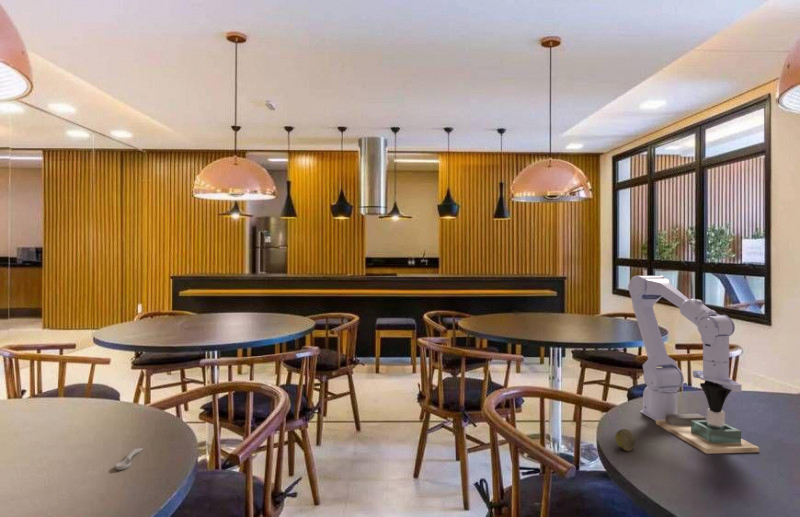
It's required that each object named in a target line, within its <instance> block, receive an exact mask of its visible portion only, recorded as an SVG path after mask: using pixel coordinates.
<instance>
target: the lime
mask: <svg viewBox="0 0 800 517" xmlns="http://www.w3.org/2000/svg"><path fill="white" fill-rule="evenodd" d="M614 440H615V443H616V444H617V446H618V447H619V448H621V449H622V450H623V451H626V452H630V451H632V450H633V449H634V447H635V438H634V435H633V433H632V431H630V430H628V429H626V428H625V429H624V428H622V429H619V430H618V431H617V432H616V433H615V437H614Z"/></svg>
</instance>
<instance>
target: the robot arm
mask: <svg viewBox="0 0 800 517" xmlns="http://www.w3.org/2000/svg"><path fill="white" fill-rule="evenodd" d="M627 288H628V291H629V295H630V300H631V304H632V308H633V312H634V316H635V318H636V321H637V326H638V329H639V331H640V335H641V340H642V343H643V345H644V349H645V352H646V356H647V360H646V361H645V362H644V363H643V364H642V369H643V370H642V371H643V380H644V383H645V385H646V387H645V388H644V390H643V394H642V410H640V413H641V414H643V415H644V416H646V417H648V418H650V419H652V420H653V421H655V422H656V420H664V419H666V415H671V414H678V391H680V387H682V386H683V385H684V380H685V378H684V373H683V372H682V370H681V369H680V368H679V366H678V363H677V361H676V360H674V359H673V358H671V357H670V356H669V355H668V352H667V349H666V346H665V343H664V340H663V336H662V333H661V330H660V326H659V324H658V320H657V318H656V314H655V312H654V308H653V307H654V305H655V304H656V303H657V302H658V301H659V300H660V299H662V298H664V299H665V300H667V301H669V302H670V303H672V304H673V305H674V306H676V307H677V308H679V313H680V314H681V316H683V317H684V318H686V319H687V320H688V321H690V322H691V323H692V324H694V325H695V326H696V327H697V331H698V333H699V334H700V340H701V342H702V370H697V369H695V370H694V369H693V370H692V378H695V379H700V380H702V381H704V382H700V384H699V385H700V387H701V389H702V391H703V392H704V395H705V398H706V400H707V404H708V408H710V410H711V411H713V412H721V410H722V409H723V407H724V403H725V400H726V399H727V398H728V396H729V395H730V393H731V392H733V393H742V384H740V383H738V382H737V381H735V380H734V379H732V378H730V337H731V336H732V335H733V334H734V332H735V329H736V326H735V323H734V321H733V320H732V319H731V318H730V316H728V315H726V314H719V313H717V311H715V310H714V309H711V308H709V307H708V306H706V305H705V304H704V303H703V301H702V300H701V299H696V298H690V299H689V297H687V296H685V295H684V294H683V293H682V292H681V291H679V289H677V288H676V287H675V286H674V285H673V284H671V281H670V279H668V278H665V276H664V275H660V274H659V275H658V274H657V275H634V276H632V278H631V279H630V280H629V283H628V287H627ZM722 411H723V410H722Z"/></svg>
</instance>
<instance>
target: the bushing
mask: <svg viewBox="0 0 800 517" xmlns="http://www.w3.org/2000/svg"><path fill="white" fill-rule="evenodd" d="M705 414H706V416H705V417H706V426H707V427H709V428H711V429H713V430H724V425H725V424H726V423H725V420H726V412H725V410H721V412H713V411H711V410H710V408H709V407H708V408H706V413H705Z"/></svg>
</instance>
